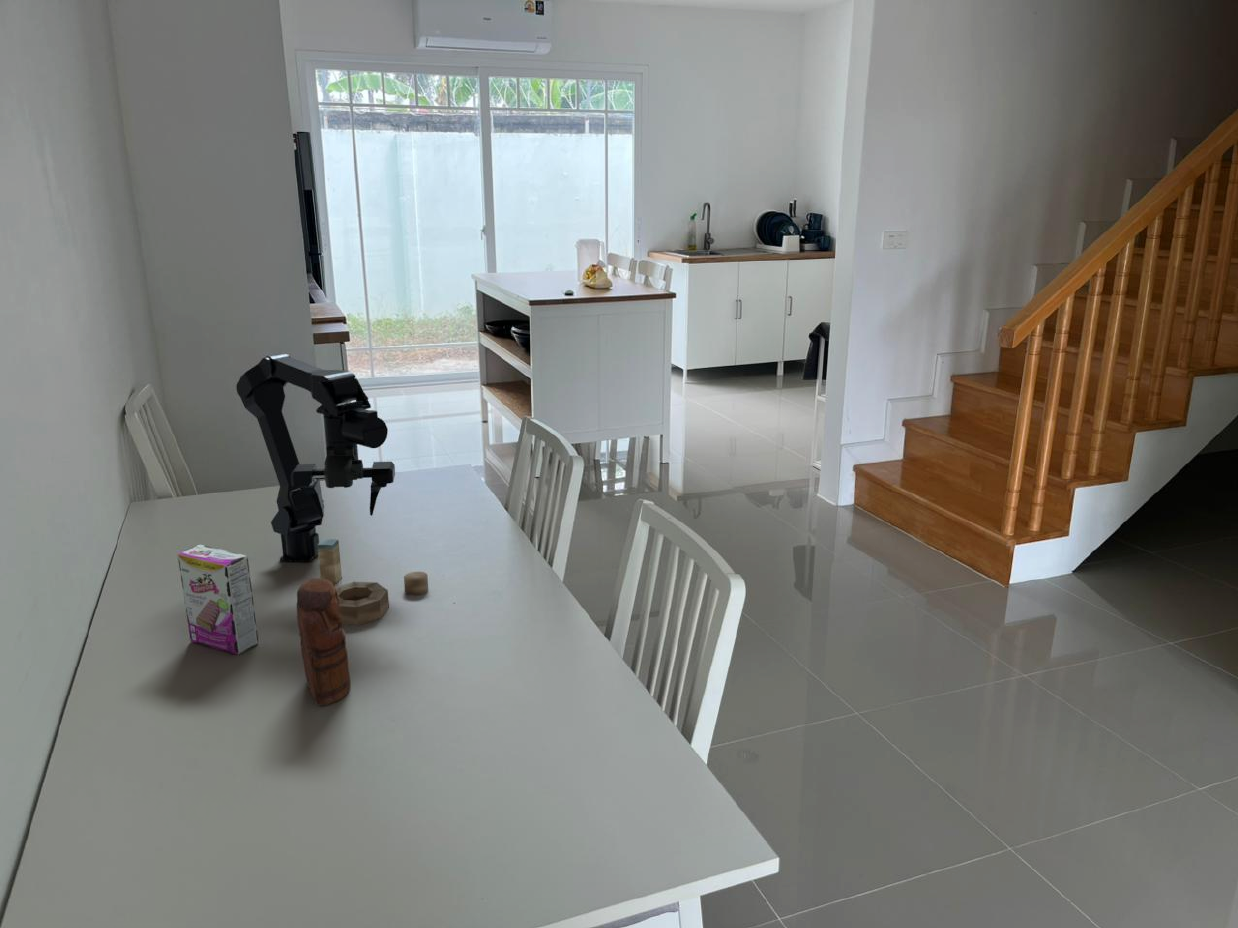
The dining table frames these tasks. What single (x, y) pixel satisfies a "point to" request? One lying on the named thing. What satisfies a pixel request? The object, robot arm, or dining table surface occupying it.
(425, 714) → the dining table surface
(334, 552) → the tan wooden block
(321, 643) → the wooden figurine
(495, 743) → the dining table surface
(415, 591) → the loose bead
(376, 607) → the wooden octagonal ring
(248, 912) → the dining table surface
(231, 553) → the candy bar box
